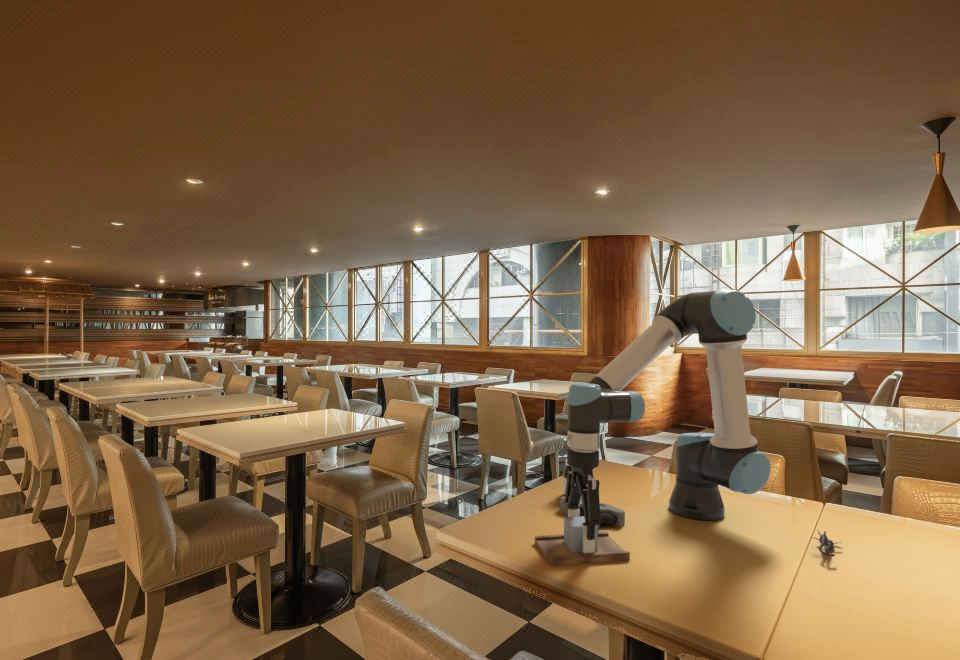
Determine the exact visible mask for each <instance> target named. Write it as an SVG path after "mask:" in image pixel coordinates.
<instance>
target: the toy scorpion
mask: <svg viewBox="0 0 960 660" xmlns="http://www.w3.org/2000/svg"><path fill="white" fill-rule="evenodd" d="M819 528H820V527H818V530H817V533H818V535H819V536H820V537H819V538H817V537H810V539H816V540H818V541H819V542H820V544H819V546H818V550H819V552H820V553H822V555H825V556H829V557H835V556H836V555H835V554H834V553H832V552H831V553H830V548H833V547H834V548H838V549H842V547H841V546H838V545H836V544H840V543H843V542H842V541H838V542H835V543H834V541H833V540H832V539H829V537H828V536H827V532H826V531H823V533H822V534H821V533H820V529H819ZM822 548H824V550H825V551H826V552H825V551H823V549H822Z"/></svg>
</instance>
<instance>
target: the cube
mask: <svg viewBox="0 0 960 660" xmlns="http://www.w3.org/2000/svg"><path fill="white" fill-rule="evenodd" d="M582 523H585V517H584V516H582V517H568V516H567V517H564V519H563V534H564V543H565V544H566V545H567V546H568V548H569V549H570V550H571V551H572V552H573V553H579V552H583V524H582ZM598 532H599V531H598V525H596V529H595V551H597V544H598Z"/></svg>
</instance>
